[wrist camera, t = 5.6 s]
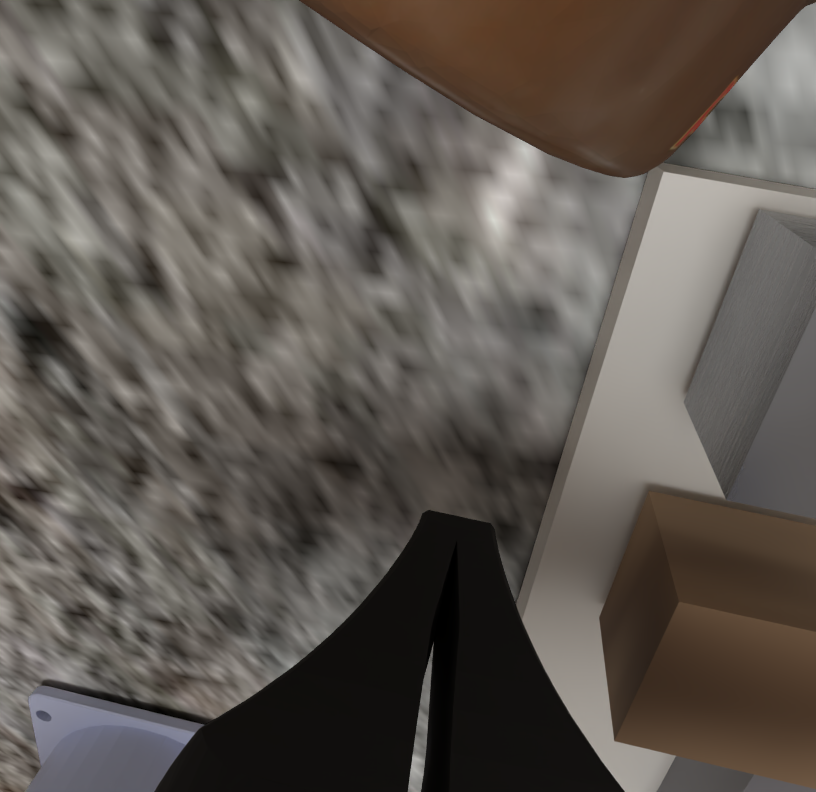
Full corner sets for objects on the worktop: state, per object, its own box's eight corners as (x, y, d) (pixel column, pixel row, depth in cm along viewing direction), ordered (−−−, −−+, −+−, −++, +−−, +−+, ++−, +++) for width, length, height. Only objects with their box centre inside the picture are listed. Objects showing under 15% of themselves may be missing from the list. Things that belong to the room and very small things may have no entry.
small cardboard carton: (783, 659, 14) (840, 794, 12) (599, 617, 15) (613, 741, 12) (858, 534, 13) (944, 660, 10) (648, 491, 13) (678, 601, 10)
